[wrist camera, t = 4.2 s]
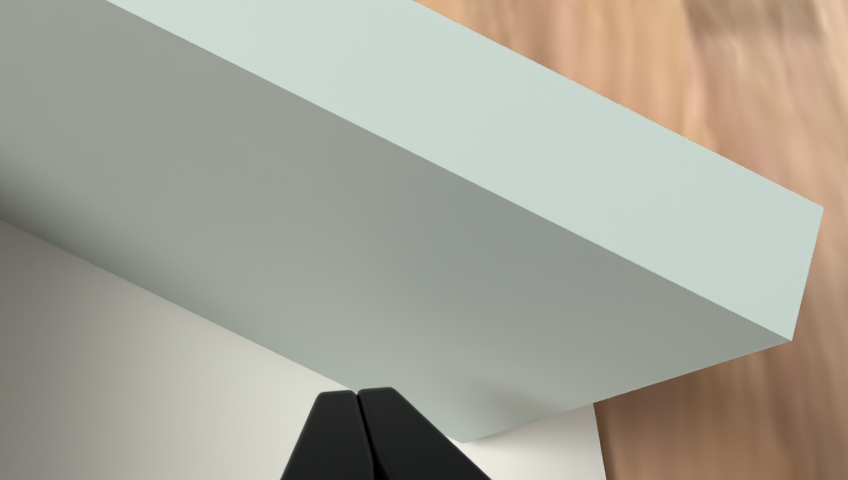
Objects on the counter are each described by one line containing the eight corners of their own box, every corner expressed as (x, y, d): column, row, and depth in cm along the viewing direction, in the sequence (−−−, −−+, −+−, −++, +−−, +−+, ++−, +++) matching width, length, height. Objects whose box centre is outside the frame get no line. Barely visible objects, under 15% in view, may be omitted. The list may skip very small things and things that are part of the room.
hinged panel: (-251, 97, 15) (-1223, -660, 5) (-206, 51, 15) (-1020, -721, 6) (462, 443, 15) (790, 341, 5) (484, 389, 15) (823, 207, 6)
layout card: (675, 924, 14) (685, 935, 13) (-666, 1263, 10) (-700, 1292, 9) (531, 71, 19) (536, 63, 19) (-354, 58, 15) (-368, 48, 15)
